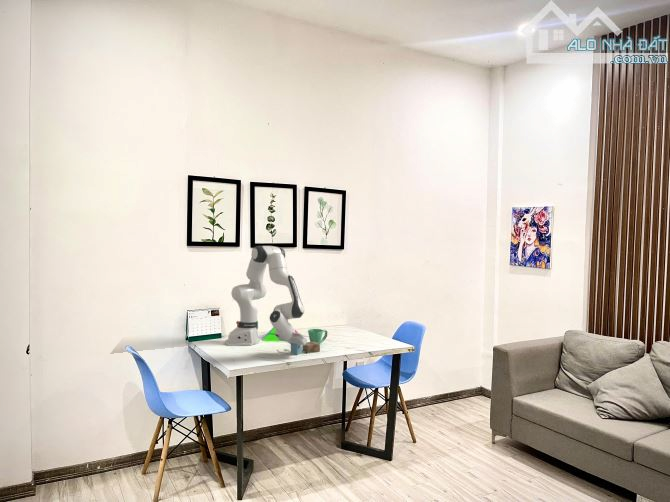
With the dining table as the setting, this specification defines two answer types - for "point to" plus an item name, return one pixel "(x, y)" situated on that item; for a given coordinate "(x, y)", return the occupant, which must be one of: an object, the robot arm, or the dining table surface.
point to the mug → (317, 335)
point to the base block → (311, 347)
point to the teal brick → (296, 349)
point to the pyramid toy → (272, 335)
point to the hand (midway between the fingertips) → (297, 345)
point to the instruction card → (284, 350)
